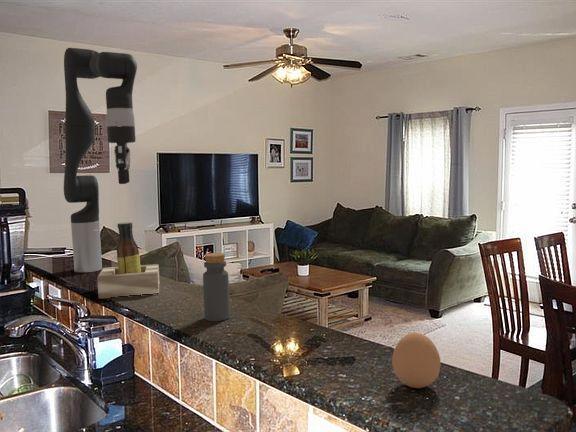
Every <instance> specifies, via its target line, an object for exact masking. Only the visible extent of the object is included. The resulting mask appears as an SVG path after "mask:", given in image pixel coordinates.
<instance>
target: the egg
mask: <svg viewBox="0 0 576 432" xmlns="http://www.w3.org/2000/svg"><path fill="white" fill-rule="evenodd" d="M391 363H392V369H393V371H394V374H395V375H396V377H397V378H398V379H399V381H401V383H403V384H404V385H406V386H408V387H410V388H414V389H422V388H425V387H427V386H429V385H431V384H432V383H434V382H435V380H436V379H437V378H438V376H439V374H440V371H441V357H440V353H439V351H438V349H437V347H436V345H435V343H434V342H433V340H431V338H429V336H426V335H424V333H423V334H422V333H421V332H411V333H408V334H406V335H404V336H402V337H401V338H400V339H399V341H398V342H397V343H396V345H395V347H394V350H393V352H392V357H391Z"/></svg>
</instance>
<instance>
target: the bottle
mask: <svg viewBox="0 0 576 432" xmlns="http://www.w3.org/2000/svg"><path fill="white" fill-rule="evenodd" d="M225 257H226V254H225V253H223V252H212V253H211V252H210V253H206V254H204V259H205V262H203V266H204V268H206V271H205V272H204V273H202V285H203V306H204V319H205V320H206V321H209V322H223V321H227V320H229V319H230V317H231V309H230V307H231V305H230V302H231V301H230V285H229V284H230V283H229V282H230V281H229V272H228V271H227V270H225V267H226V266H227V261H225ZM226 319H227V320H226ZM222 320H223V321H222Z"/></svg>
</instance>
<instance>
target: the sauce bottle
mask: <svg viewBox="0 0 576 432" xmlns="http://www.w3.org/2000/svg"><path fill="white" fill-rule="evenodd" d="M117 229H118V234H119V235H118V239H119V240H118V243H117V244H116V260H117V267H118V272H119V274H127V273H141V267H140V265H141V259H140V258H141V257H140V251H139V247H138V244H137V242H136V241H135V239H134V234H133V222H132V221H125V222H118V223H117Z"/></svg>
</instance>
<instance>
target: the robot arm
mask: <svg viewBox="0 0 576 432" xmlns="http://www.w3.org/2000/svg"><path fill="white" fill-rule="evenodd" d="M137 69H138V64H137V60H136V58H135V57H134V56H133V55H132V54H130V53H125V52H124V53H123V52H111V51H101V52H98V51H95V50H93V49H89V48H88V49H87V48H78V47H67V48H66V49H65V50H64V55H63V70H64V71H63V72H64V87H65V116H64V117H65V119H64V136H65V160H64V161H65V162H64V163H65V164H64V175H63V196H64V199H65V201H66V202H67V203H70V204H71V203H72V204H73V203H85V206H84V207H83V208H81V209H80V210H78V211H75V212H73V213H72V214H71V215H70V227H71V228H70V229H71V243H72V256H73V269H74V270H73V272H75V273H93V272H98V271H102V269H103V262H102V261H103V260H102V259H103V257H102V245H101V244H102V243H101V231H100V230H101V228H100V203H99V202H100V193H99V192H100V191H99V182H98V179H97V177H96V176H95V175H90V174H89V175H77V174H78V171H79V167H80V166H79V165H80V163H81V161H82V160H83V159H84V157H85V155H86V154H87V152H88V151H89V149H90V148H91V147H92V145H93V143H94V141H95V131H96V130H95V129H96V128H95V127H96V123H95V122H96V121H95V120H96V119H95V117H94V114H93V113H92V111H91V109H90V108H89V106H88V105H87V103H86V102H85V100H84V99H83V97H82V95H81V92H80V90H79V86H78V79H88V80H89V79H91V80H95V79H98V78H100V77H101V78H104V79H114V80H115V79H116V80H117V79H118V80H122V82H121V84H120V85H119V86H112V87H108V88H107V89H105V102H106V105H105V106H106V114H105V115H106V134H107V142H108V143H109V144H116V145H115V147H114V156H115V157H114V158H115V159H114V160H115V167H116V169H117V175H118V177H117V179H118V184H120V185H125V184H128V183H130V171H129V170H130V167H131V158H130V157H131V149H130V147H128V144H132V143H135V142H136V124H135V114H134V110H133V105H134V104H133V92H134V91H133V90H134V83H135V79H136V76H137Z"/></svg>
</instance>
